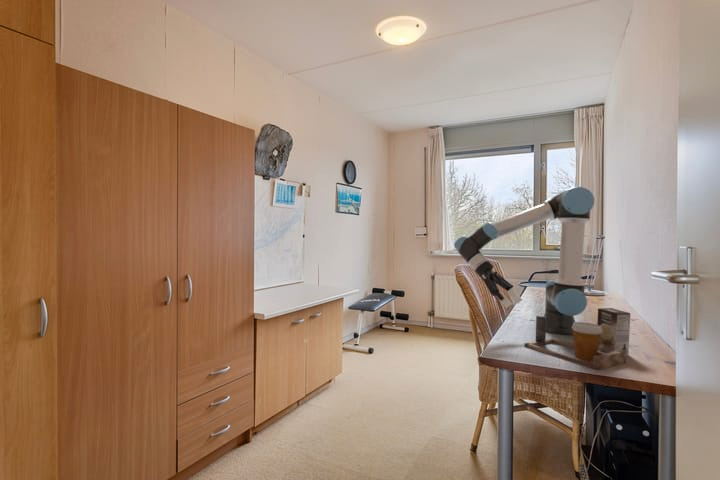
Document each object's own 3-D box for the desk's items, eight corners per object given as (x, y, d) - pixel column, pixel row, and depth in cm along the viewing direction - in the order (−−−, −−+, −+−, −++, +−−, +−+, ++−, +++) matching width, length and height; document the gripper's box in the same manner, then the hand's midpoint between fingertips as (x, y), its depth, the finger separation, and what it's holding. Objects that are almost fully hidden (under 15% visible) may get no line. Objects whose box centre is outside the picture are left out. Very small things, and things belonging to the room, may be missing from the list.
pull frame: (549, 340, 156) (550, 313, 156) (626, 362, 131) (627, 330, 131) (522, 345, 148) (523, 317, 148) (597, 369, 123) (599, 336, 122)
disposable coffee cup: (606, 363, 129) (607, 329, 129) (576, 361, 131) (577, 327, 131) (594, 355, 138) (596, 323, 138) (566, 353, 140) (567, 321, 140)
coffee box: (595, 348, 147) (596, 307, 146) (609, 348, 148) (610, 307, 147) (614, 356, 138) (616, 312, 137) (629, 355, 139) (631, 312, 138)
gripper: (486, 269, 178) (517, 305, 168) (463, 272, 159) (497, 313, 149) (497, 258, 174) (530, 295, 165) (475, 261, 155) (511, 302, 146)
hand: (514, 303), depth 157 cm, fingers open, 13 cm apart
